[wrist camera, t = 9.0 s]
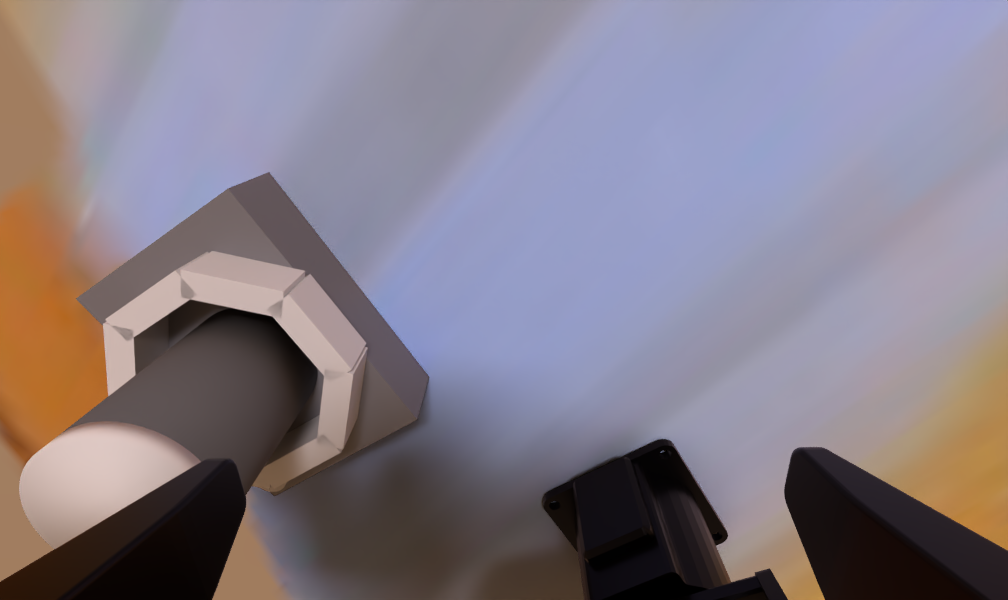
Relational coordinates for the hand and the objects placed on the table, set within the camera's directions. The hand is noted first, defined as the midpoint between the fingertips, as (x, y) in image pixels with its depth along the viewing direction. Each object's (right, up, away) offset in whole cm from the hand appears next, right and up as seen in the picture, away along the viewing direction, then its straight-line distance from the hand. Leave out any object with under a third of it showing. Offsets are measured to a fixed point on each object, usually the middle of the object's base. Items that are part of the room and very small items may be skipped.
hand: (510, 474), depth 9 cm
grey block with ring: (-9, +2, +13) cm, 16 cm away
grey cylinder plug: (-9, +1, +10) cm, 14 cm away
